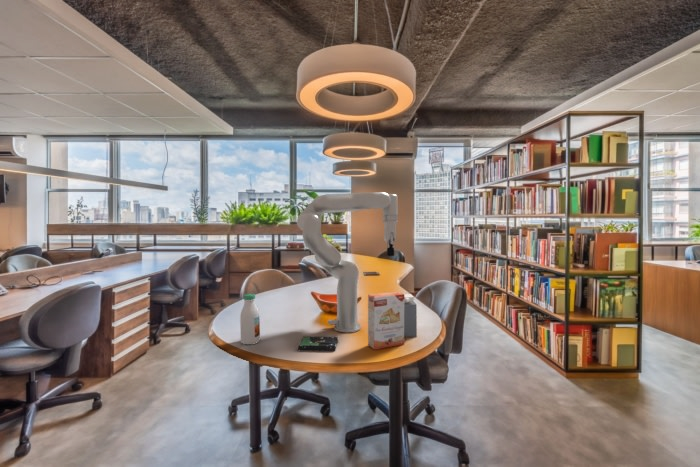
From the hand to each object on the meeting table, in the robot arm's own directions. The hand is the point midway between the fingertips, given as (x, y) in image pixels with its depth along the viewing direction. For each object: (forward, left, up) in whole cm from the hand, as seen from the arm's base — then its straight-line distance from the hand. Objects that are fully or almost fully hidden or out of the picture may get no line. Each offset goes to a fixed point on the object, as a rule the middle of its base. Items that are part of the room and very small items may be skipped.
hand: (390, 255), depth 157 cm
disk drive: (-34, -31, -34) cm, 57 cm away
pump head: (+4, -20, -29) cm, 35 cm away
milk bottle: (-63, -25, -33) cm, 76 cm away
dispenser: (+4, -18, -33) cm, 38 cm away
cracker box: (-6, -31, -33) cm, 46 cm away
